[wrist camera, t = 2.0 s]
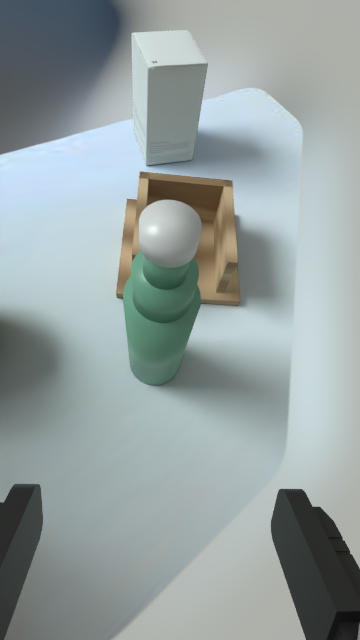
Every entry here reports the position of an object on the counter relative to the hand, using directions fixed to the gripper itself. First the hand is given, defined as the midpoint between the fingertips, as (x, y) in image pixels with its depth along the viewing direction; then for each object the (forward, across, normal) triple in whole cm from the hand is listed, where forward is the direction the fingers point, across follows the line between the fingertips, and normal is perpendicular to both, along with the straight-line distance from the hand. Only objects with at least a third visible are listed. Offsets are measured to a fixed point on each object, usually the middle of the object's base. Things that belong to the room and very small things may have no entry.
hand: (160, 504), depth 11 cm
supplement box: (+46, 0, -17) cm, 50 cm away
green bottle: (+23, 0, +6) cm, 24 cm away
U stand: (+33, -2, -4) cm, 33 cm away
